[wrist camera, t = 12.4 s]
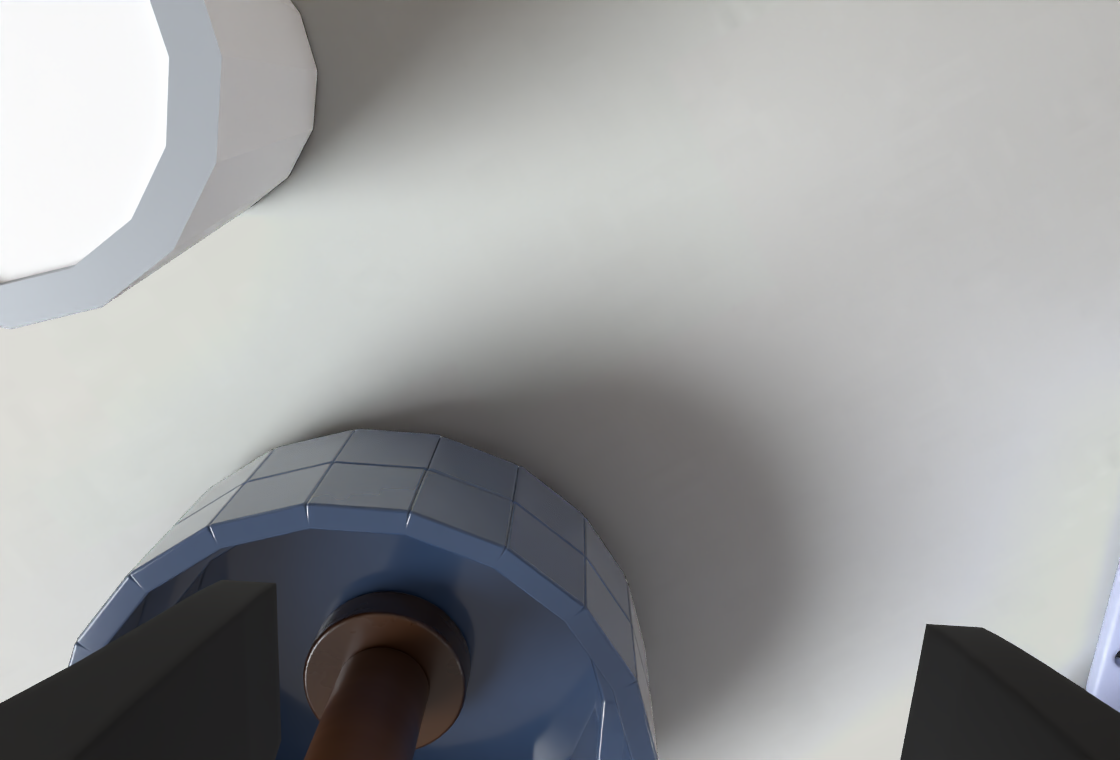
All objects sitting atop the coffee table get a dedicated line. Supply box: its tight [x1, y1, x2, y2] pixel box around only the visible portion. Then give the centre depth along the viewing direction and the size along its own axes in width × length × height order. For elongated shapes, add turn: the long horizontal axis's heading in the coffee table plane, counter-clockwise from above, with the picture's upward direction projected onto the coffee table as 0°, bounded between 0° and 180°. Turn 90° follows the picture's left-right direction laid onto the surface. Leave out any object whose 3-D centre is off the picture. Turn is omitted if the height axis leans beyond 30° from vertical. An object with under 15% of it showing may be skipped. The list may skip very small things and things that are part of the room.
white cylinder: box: [0, 0, 317, 329], centre depth 15 cm, size 7×7×7 cm
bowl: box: [68, 429, 658, 760], centre depth 20 cm, size 11×11×4 cm
